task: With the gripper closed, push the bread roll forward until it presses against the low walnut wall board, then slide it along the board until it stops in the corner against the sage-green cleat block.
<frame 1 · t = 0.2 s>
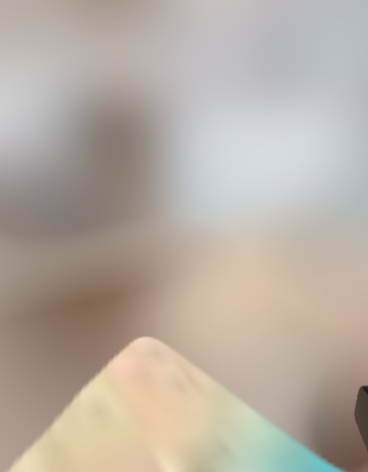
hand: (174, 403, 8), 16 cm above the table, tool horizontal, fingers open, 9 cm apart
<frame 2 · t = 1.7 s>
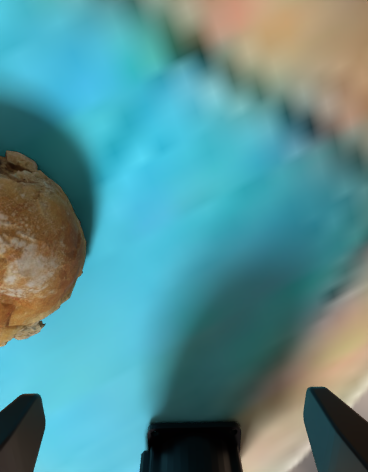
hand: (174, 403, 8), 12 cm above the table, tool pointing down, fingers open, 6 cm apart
bread roll: (5, 238, 20), on the table
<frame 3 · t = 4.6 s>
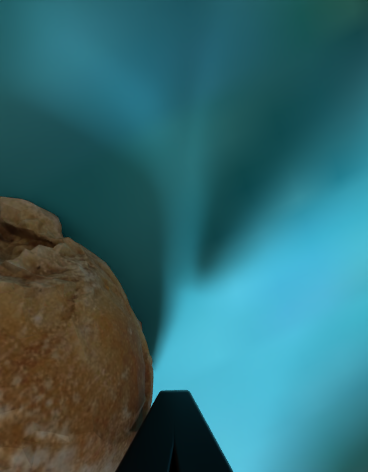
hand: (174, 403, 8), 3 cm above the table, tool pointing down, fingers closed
bread roll: (0, 347, 11), on the table, touching gripper
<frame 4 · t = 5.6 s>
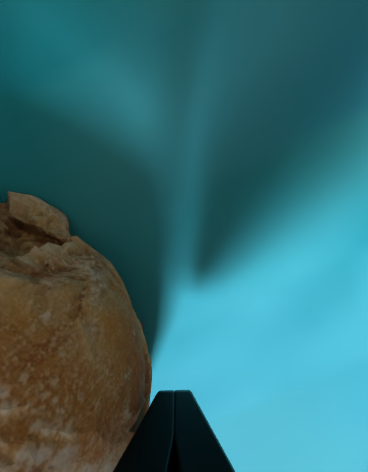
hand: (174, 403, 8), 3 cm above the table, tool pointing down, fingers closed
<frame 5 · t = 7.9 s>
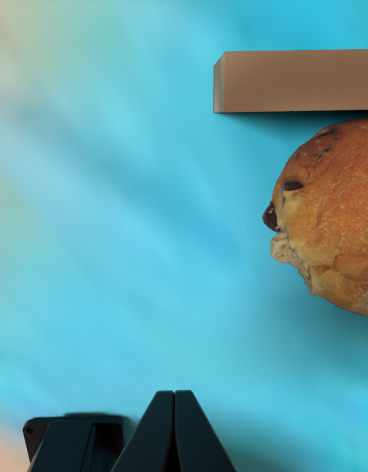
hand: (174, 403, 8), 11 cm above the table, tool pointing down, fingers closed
bread roll: (353, 206, 19), on the table
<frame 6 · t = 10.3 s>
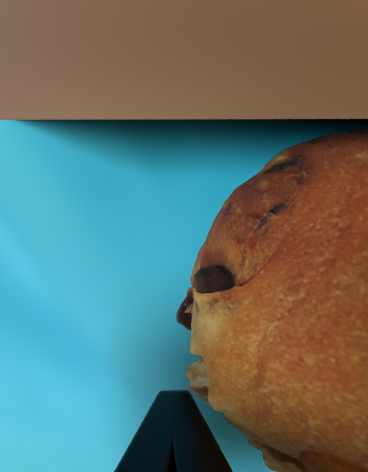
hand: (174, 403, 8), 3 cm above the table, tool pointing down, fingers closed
bread roll: (348, 281, 11), on the table, touching gripper
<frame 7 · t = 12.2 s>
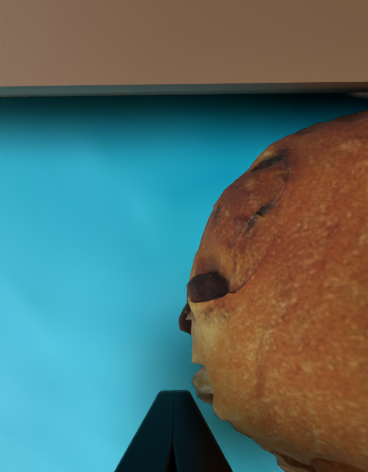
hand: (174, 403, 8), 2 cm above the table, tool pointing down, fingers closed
wall board: (257, 46, 8), on the table
bread roll: (355, 271, 10), on the table, touching gripper, wall board
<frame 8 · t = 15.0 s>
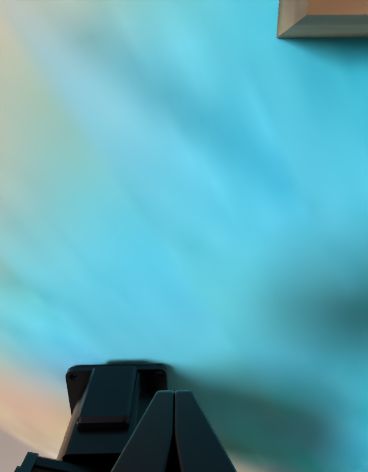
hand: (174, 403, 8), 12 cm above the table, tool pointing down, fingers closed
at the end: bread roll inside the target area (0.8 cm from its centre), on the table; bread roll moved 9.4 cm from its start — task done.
